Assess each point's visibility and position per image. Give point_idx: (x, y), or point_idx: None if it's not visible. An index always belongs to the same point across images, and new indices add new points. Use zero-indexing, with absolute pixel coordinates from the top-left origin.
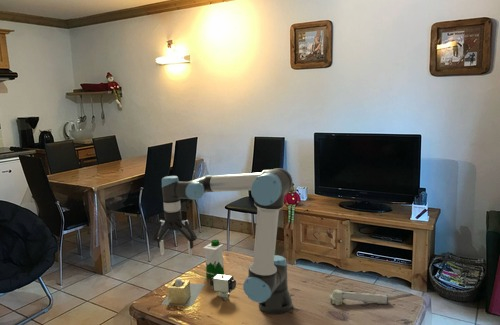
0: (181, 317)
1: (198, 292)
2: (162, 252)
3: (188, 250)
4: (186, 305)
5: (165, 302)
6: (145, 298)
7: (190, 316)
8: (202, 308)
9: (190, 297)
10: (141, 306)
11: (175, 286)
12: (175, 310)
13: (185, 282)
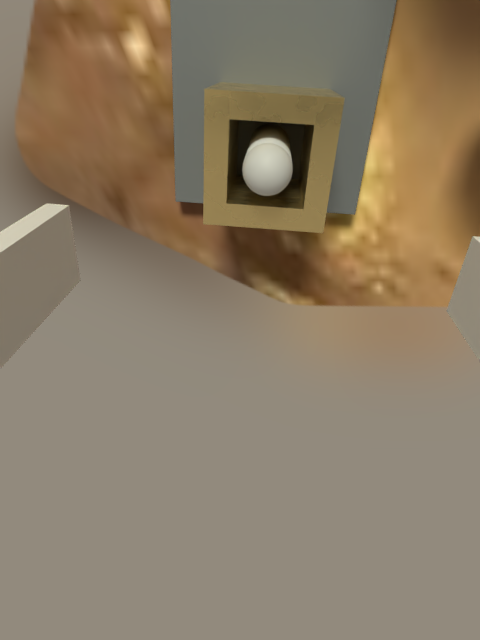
0: (310, 283)
1: (378, 28)
2: (62, 281)
3: (477, 357)
4: None
5: (192, 177)
6: (35, 85)
7: (352, 275)
8: (408, 202)
9: None
10: (67, 183)
11: (255, 207)
12: None
13: (316, 140)
